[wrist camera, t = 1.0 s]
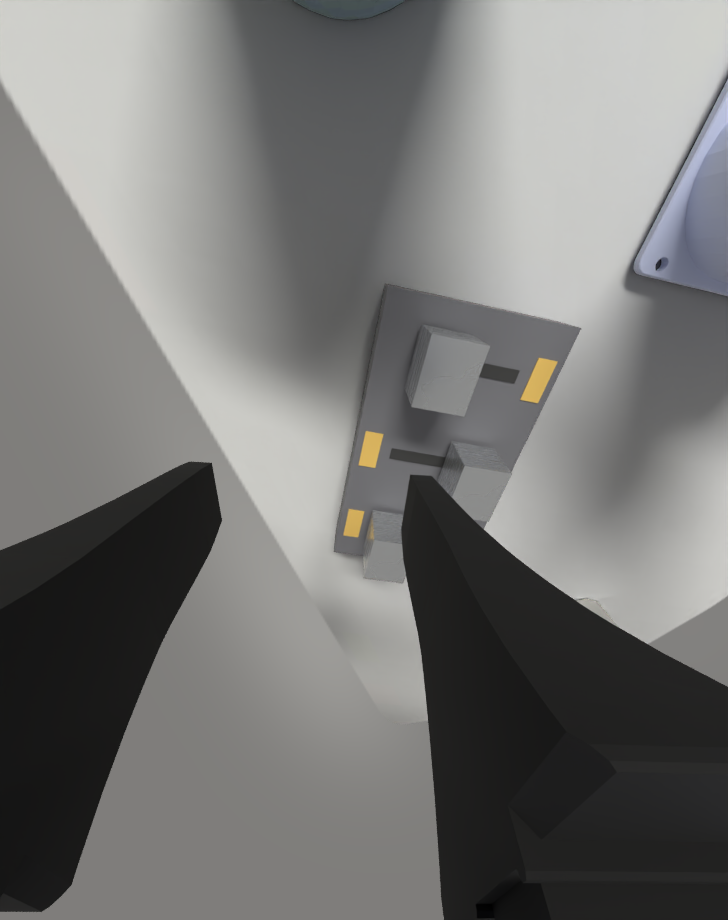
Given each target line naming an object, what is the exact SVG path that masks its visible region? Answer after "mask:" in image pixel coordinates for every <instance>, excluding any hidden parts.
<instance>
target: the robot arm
mask: <svg viewBox="0 0 728 920" xmlns="http://www.w3.org/2000/svg"><path fill="white" fill-rule="evenodd" d="M659 259H661V262H662V263H661V266H660V267H659V268H658V269H657V270H656V268H655V266H656V263H657V262H658V260H659ZM634 271H635V273H637V274H638V275H642V276H646V277H650V278H654V279H658V280H663V281H667V282H671V283H675V284H679V285H683V286H687V287H691V288H696V289H700V290H704V291H708V292H712V293H716V294H720V295H725V296H728V80H727V82H726V84H725V86H724V88H723V90H722V91H721V93H720V95H719V97H718V99H717V101H716V103H715V105H714V107H713V109H712V111H711V113H710V115H709V117H708V119H707V121H706V123H705V125H704V127H703V129H702V130H701V132H700V134H699V136H698V138H697V140H696V142H695V144H694V146H693V148H692V150H691V152H690V154H689V156H688V158H687V160H686V162H685V164H684V166H683V168H682V169H681V171H680V173H679V175H678V177H677V179H676V181H675V183H674V185H673V187H672V189H671V191H670V193H669V195H668V197H667V199H666V201H665V203H664V205H663V207H662V208H661V210H660V212H659V214H658V216H657V218H656V220H655V222H654V224H653V226H652V228H651V230H650V232H649V234H648V236H647V238H646V240H645V242H644V244H643V246H642V247H641V249H640V251H639V253H638V255H637V257H636V259H635V262H634ZM221 522H222V518H221V513H220V507H219V501H218V495H217V490H216V485H215V479H214V473H213V467H212V463H203V462H188V463H185V464H183V465H180V466H178V467H176V468H174V469H172V470H170V471H168V472H166V473H164V474H163V475H160V476H159V477H157V478H155V479H153V480H151V481H149V482H147V483H146V484H143V485H141V486H140V487H138V488H136V489H134V490H132V491H130V492H128V493H126V494H124V495H122V496H120V497H119V498H117V499H115V500H113V501H110V502H108V503H106V504H104V505H102V506H100V507H98V508H96V509H94V510H92V511H90V512H88V513H86V514H84V515H82V516H80V517H78V518H75V519H73V520H71V521H69V522H67V523H65V524H63V525H60V526H58V527H56V528H54V529H51V530H49V531H47V532H44V533H42V534H40V535H37V536H35V537H33V538H30V539H27V540H25V541H22V542H20V543H18V544H15V545H13V546H10V547H8V548H5V549H3V550H0V912H7V911H8V912H11V911H12V912H14V911H15V912H18V911H19V912H21V911H22V912H42V911H43V910H45V909H47V908H48V907H50V906H51V905H52V904H53V903H54V902H55V901H56V900H57V899H58V898H59V897H61V896H62V894H63V893H64V892H65V891H66V890H67V889H68V888H69V887H70V886H71V885H72V882H73V878H74V875H75V872H76V869H77V866H78V863H79V860H80V857H81V854H82V850H83V848H84V845H85V842H86V839H87V836H88V833H89V830H90V827H91V825H92V821H93V818H94V816H95V813H96V810H97V807H98V804H99V801H100V798H101V795H102V792H103V789H104V787H105V784H106V781H107V779H108V776H109V773H110V770H111V768H112V765H113V762H114V760H115V757H116V754H117V752H118V749H119V746H120V743H121V741H122V738H123V735H124V732H125V730H126V728H127V725H128V722H129V720H130V718H131V715H132V713H133V710H134V707H135V705H136V703H137V700H138V698H139V695H140V693H141V690H142V687H143V685H144V683H145V680H146V678H147V675H148V673H149V671H150V669H151V666H152V664H153V661H154V659H155V657H156V654H157V652H158V650H159V647H160V645H161V643H162V641H163V639H164V637H165V635H166V633H167V631H168V629H169V627H170V625H171V623H172V621H173V620H174V618H175V616H176V614H177V612H178V610H179V609H180V607H181V605H182V603H183V601H184V599H185V598H186V596H187V594H188V592H189V590H190V588H191V586H192V585H193V583H194V581H195V579H196V577H197V576H198V574H199V572H200V570H201V568H202V566H203V564H204V563H205V560H206V559H207V557H208V555H209V553H210V551H211V548H212V546H213V543H214V541H215V538H216V535H217V533H218V530H219V527H220V524H221ZM401 537H402V550H403V561H404V567H405V572H406V577H407V582H408V587H409V592H410V597H411V601H412V606H413V611H414V616H415V621H416V626H417V631H418V636H419V642H420V648H421V655H422V664H423V673H424V683H425V692H426V702H427V713H428V723H429V733H430V744H431V757H432V769H433V781H434V793H435V804H436V805H435V807H436V821H437V835H438V849H439V866H440V882H441V898H442V907H443V915H444V920H728V687H727V686H725V685H723V684H721V683H719V682H717V681H715V680H713V679H711V678H710V677H708V676H706V675H704V674H702V673H700V672H698V671H696V670H694V669H692V668H690V667H688V666H687V665H684V664H683V663H681V662H679V661H677V660H675V659H673V658H671V657H669V656H667V655H665V654H663V653H662V652H660V651H658V650H656V649H655V648H653V647H651V646H649V645H648V644H646V643H644V642H643V641H641V640H639V639H637V638H636V637H634V636H632V635H631V634H629V633H627V632H625V631H624V630H622V629H620V628H618V627H617V626H615V625H613V624H612V623H610V622H609V621H607V620H605V619H604V618H602V617H600V616H599V615H597V614H596V613H594V612H592V611H591V610H589V609H588V608H586V607H585V606H583V605H582V604H580V603H579V602H577V601H576V600H574V599H573V598H571V597H570V596H568V595H567V594H565V593H564V592H562V591H561V590H559V589H558V588H556V587H555V586H553V585H552V584H551V583H549V582H548V581H546V580H545V579H543V578H542V577H541V576H539V575H538V574H537V573H535V572H534V571H533V570H532V569H530V568H529V567H528V566H526V565H525V564H524V563H522V562H521V561H520V560H519V559H517V558H516V557H515V556H514V555H512V554H511V553H510V552H509V551H507V550H506V549H505V548H504V547H503V546H502V545H500V544H499V543H498V542H497V541H496V540H495V539H494V538H493V537H492V536H490V535H489V534H488V533H487V532H486V531H485V530H484V529H483V528H482V527H481V526H480V525H479V524H477V523H476V522H475V521H474V520H473V519H472V518H471V517H470V516H469V515H468V514H467V513H466V512H465V511H464V510H463V509H462V508H461V507H460V506H459V504H458V503H457V502H456V501H455V500H454V499H453V498H452V497H451V496H450V495H449V494H448V493H447V492H446V491H445V490H444V488H443V487H442V486H441V485H440V484H439V483H438V482H437V481H436V480H435V479H434V478H433V477H432V476H427V475H410V479H409V485H408V491H407V497H406V503H405V509H404V515H403V521H402V527H401Z"/></svg>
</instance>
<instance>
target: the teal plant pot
mask: <svg viewBox="0 0 728 920" xmlns="http://www.w3.org/2000/svg"><path fill="white" fill-rule="evenodd" d="M293 1H294V2H296V3H298V4H299V5H301V6H303V7H305V8H306V9H308V10H310V11H313V12H315V13H318V14H321V15H323V16H326V17H329V18H335V19H344V20H355V19H365V18H371V17H373V16H376V15H378V14H381V13H383V12H386V11H388V10H390V9H392V8H394V7H395V6H397V5H399V4H401V3H402V2H404V1H405V0H293Z"/></svg>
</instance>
